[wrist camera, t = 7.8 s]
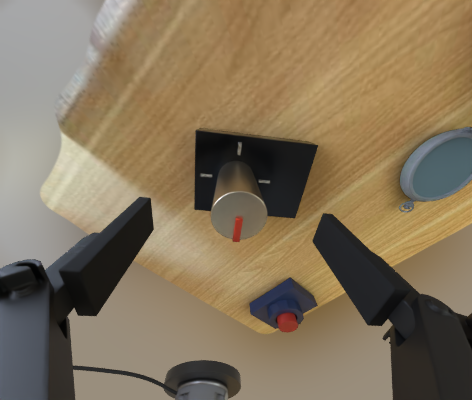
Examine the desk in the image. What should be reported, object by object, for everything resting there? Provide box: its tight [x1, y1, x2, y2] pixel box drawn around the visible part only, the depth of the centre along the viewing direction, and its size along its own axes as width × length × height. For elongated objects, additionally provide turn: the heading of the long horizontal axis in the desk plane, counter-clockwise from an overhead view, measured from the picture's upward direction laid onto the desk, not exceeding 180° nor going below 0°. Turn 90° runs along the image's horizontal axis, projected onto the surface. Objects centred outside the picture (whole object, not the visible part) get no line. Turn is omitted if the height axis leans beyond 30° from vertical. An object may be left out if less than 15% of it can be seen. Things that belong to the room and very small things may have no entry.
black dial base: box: [194, 128, 318, 218], centre depth 23 cm, size 14×10×3 cm
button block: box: [250, 278, 318, 329], centre depth 35 cm, size 11×8×4 cm
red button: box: [277, 313, 298, 332], centre depth 33 cm, size 4×4×2 cm
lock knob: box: [211, 161, 267, 242], centre depth 17 cm, size 4×4×9 cm
